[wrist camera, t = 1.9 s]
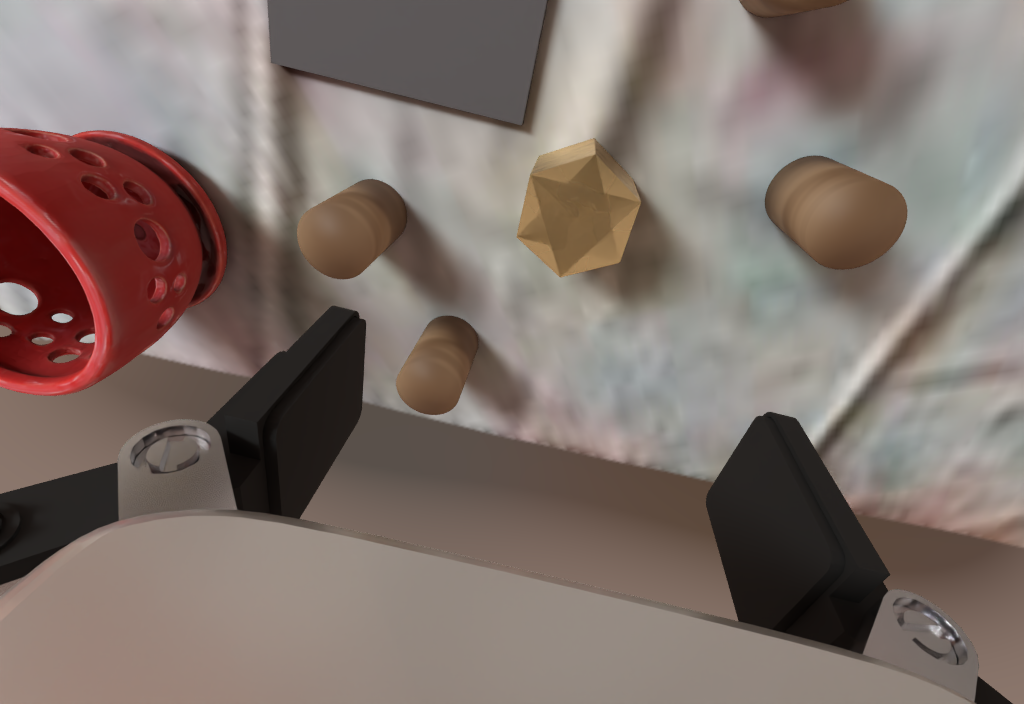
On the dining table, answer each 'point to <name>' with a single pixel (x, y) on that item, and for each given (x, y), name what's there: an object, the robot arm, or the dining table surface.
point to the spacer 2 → (438, 366)
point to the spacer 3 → (785, 6)
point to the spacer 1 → (352, 228)
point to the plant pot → (97, 252)
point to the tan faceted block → (578, 209)
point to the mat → (417, 48)
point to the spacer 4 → (835, 211)
